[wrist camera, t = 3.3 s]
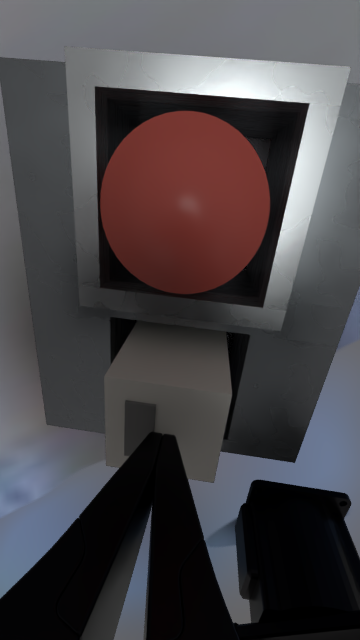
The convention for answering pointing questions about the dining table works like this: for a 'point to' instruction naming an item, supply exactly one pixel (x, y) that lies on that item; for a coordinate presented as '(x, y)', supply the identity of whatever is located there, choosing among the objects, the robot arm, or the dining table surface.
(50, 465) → the dining table surface
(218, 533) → the dining table surface
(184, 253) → the button
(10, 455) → the dining table surface
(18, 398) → the dining table surface
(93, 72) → the grey flat box
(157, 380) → the on key
